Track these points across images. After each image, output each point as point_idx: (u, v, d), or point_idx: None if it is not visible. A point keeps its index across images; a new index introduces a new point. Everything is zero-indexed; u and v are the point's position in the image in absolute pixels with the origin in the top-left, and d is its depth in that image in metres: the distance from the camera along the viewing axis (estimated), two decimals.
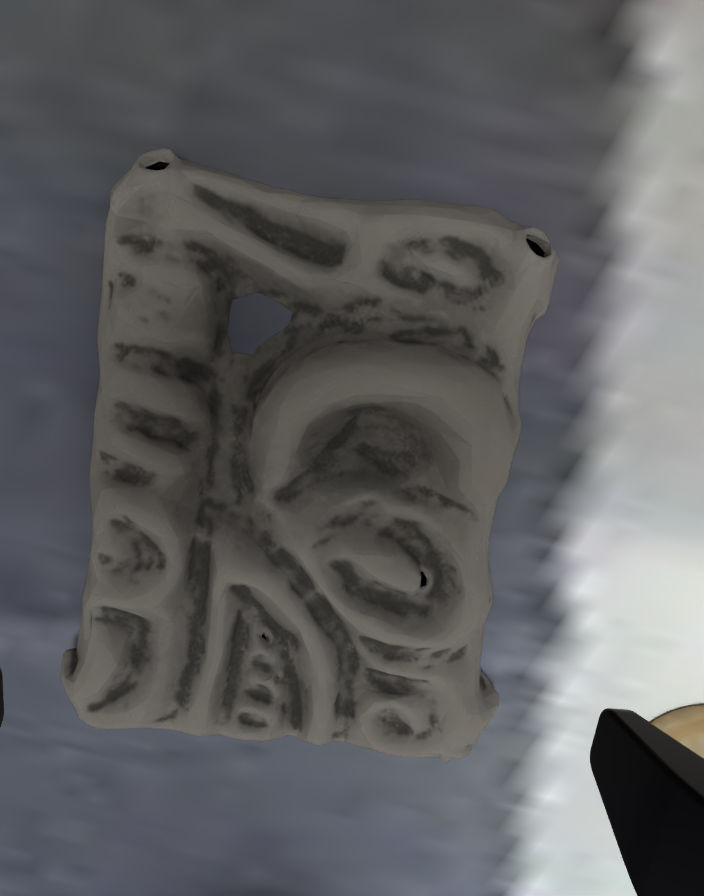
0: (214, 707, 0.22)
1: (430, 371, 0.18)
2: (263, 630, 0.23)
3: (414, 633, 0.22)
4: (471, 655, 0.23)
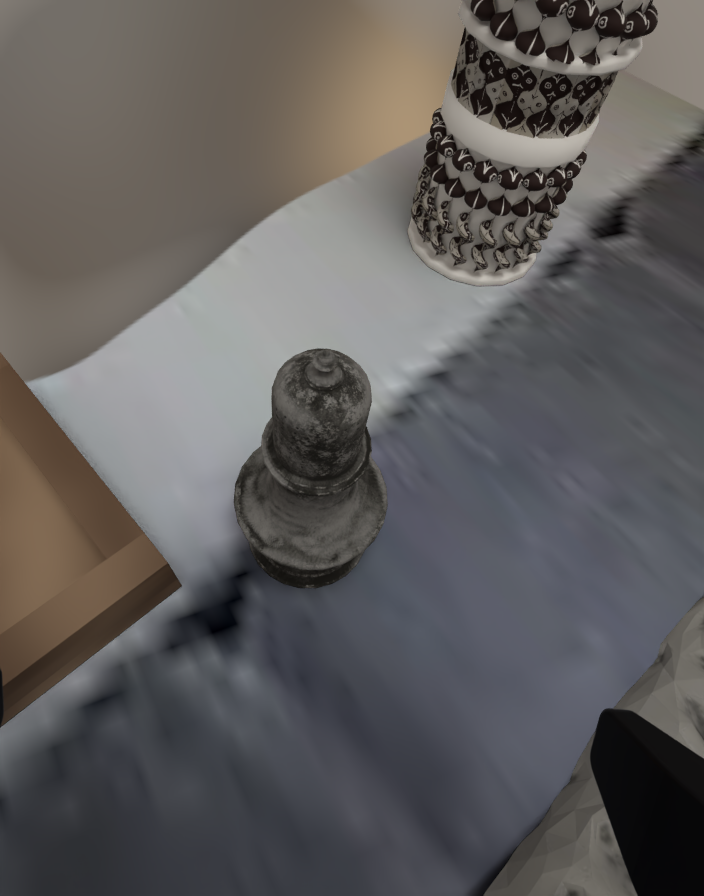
0: None
1: None
2: None
3: None
4: None
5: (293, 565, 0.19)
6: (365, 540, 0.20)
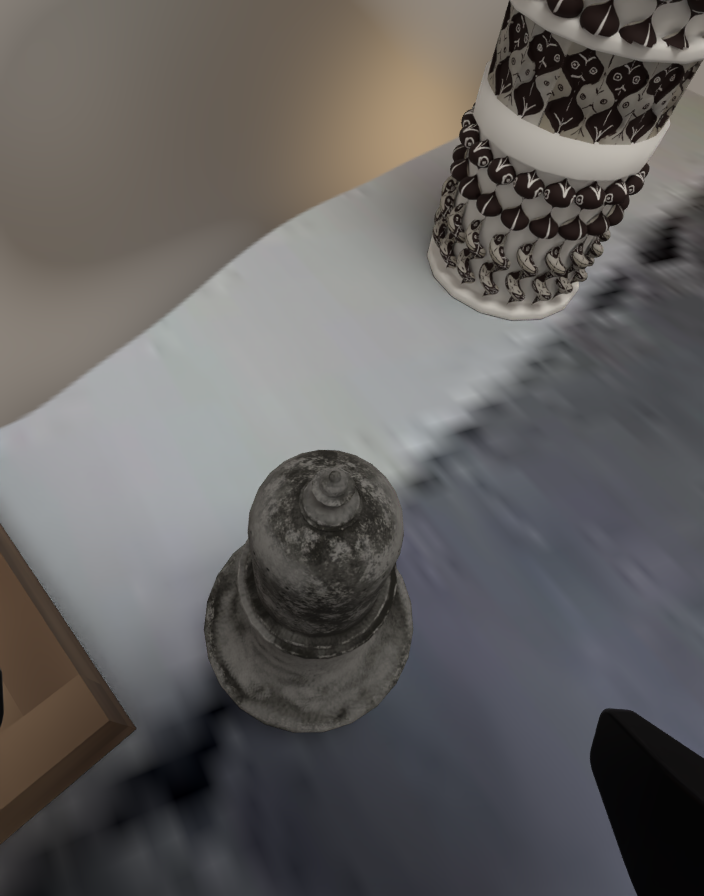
0: None
1: None
2: None
3: None
4: None
5: (284, 727, 0.14)
6: (383, 686, 0.14)
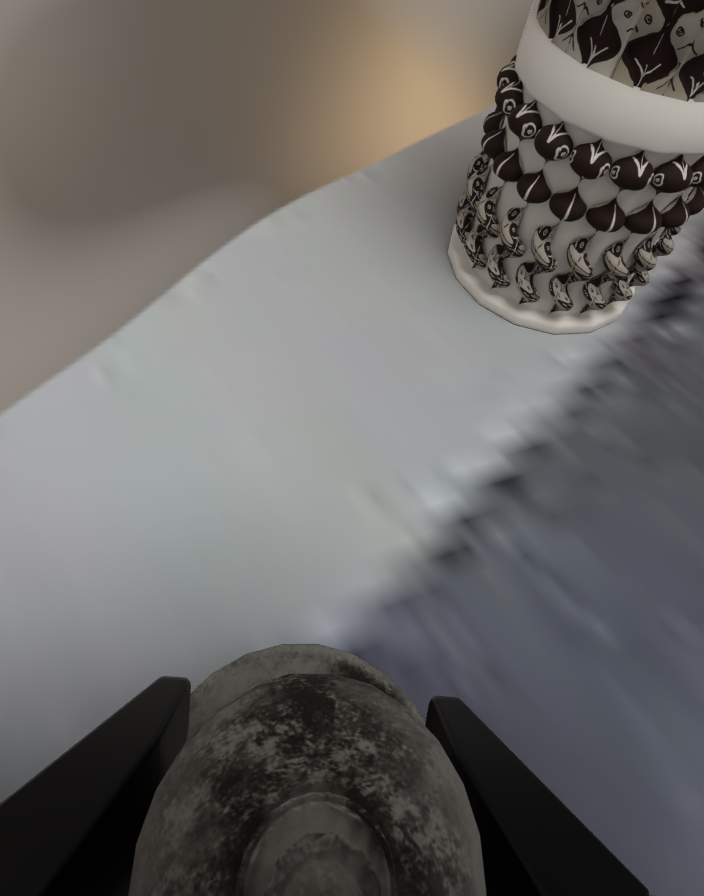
0: None
1: None
2: None
3: None
4: None
5: None
6: None
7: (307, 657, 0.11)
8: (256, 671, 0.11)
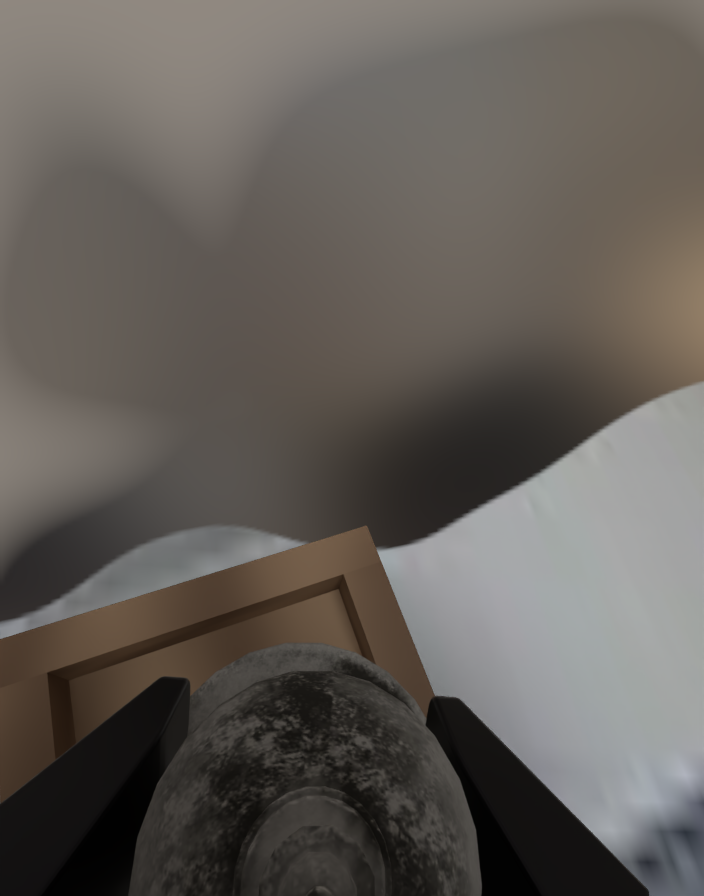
0: None
1: None
2: None
3: None
4: None
5: None
6: None
7: (310, 655, 0.11)
8: (259, 669, 0.11)
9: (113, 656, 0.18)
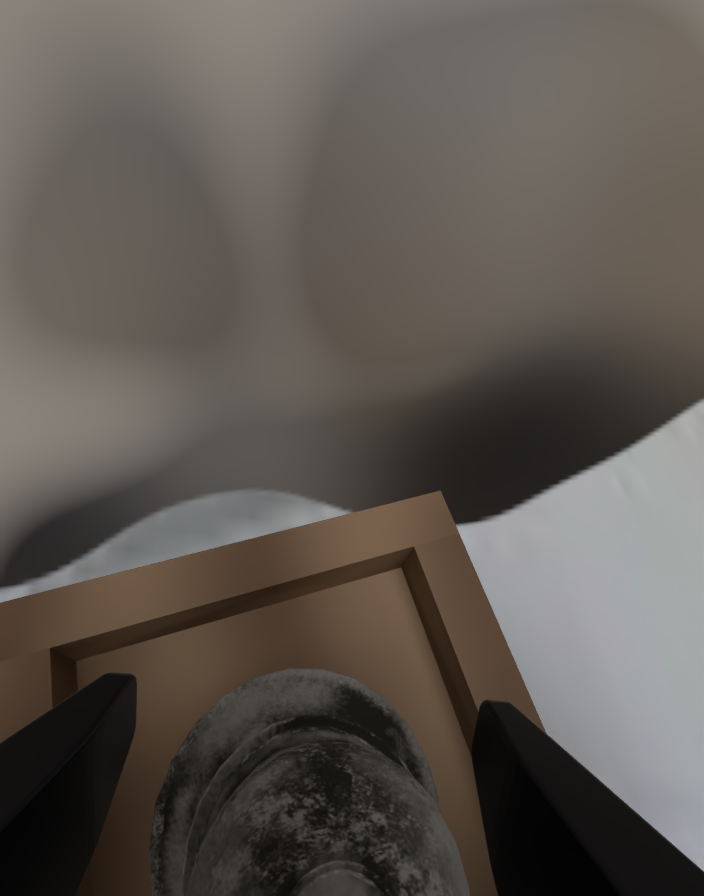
0: None
1: None
2: None
3: None
4: None
5: None
6: None
7: (312, 681, 0.12)
8: (265, 694, 0.12)
9: (131, 633, 0.15)
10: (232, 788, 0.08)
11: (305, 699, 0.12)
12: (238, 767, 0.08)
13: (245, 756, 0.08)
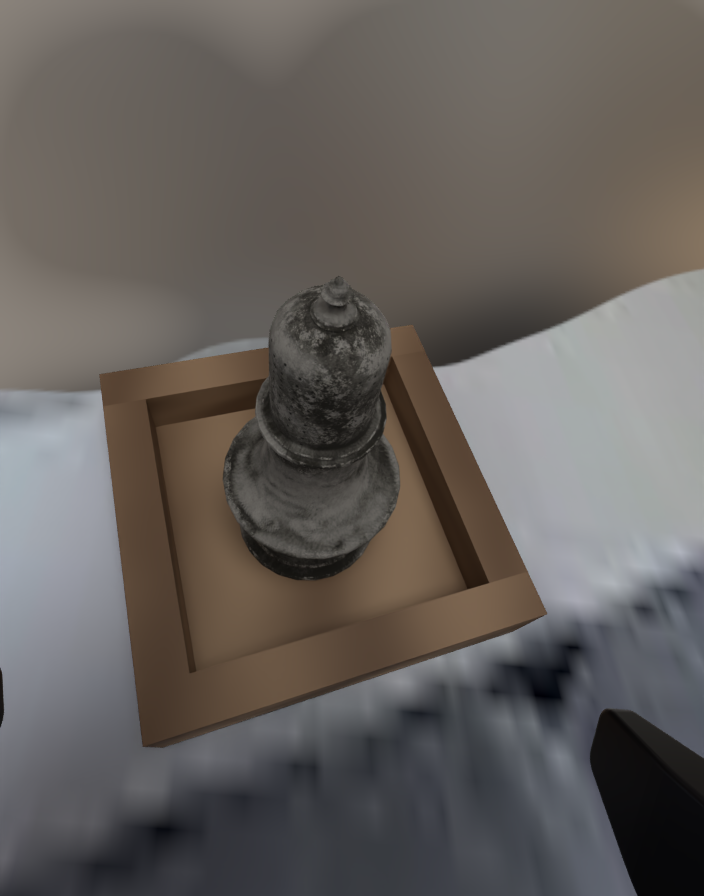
0: None
1: None
2: None
3: None
4: None
5: (290, 553, 0.16)
6: (374, 526, 0.17)
7: None
8: None
9: (196, 401, 0.21)
10: None
11: None
12: None
13: None
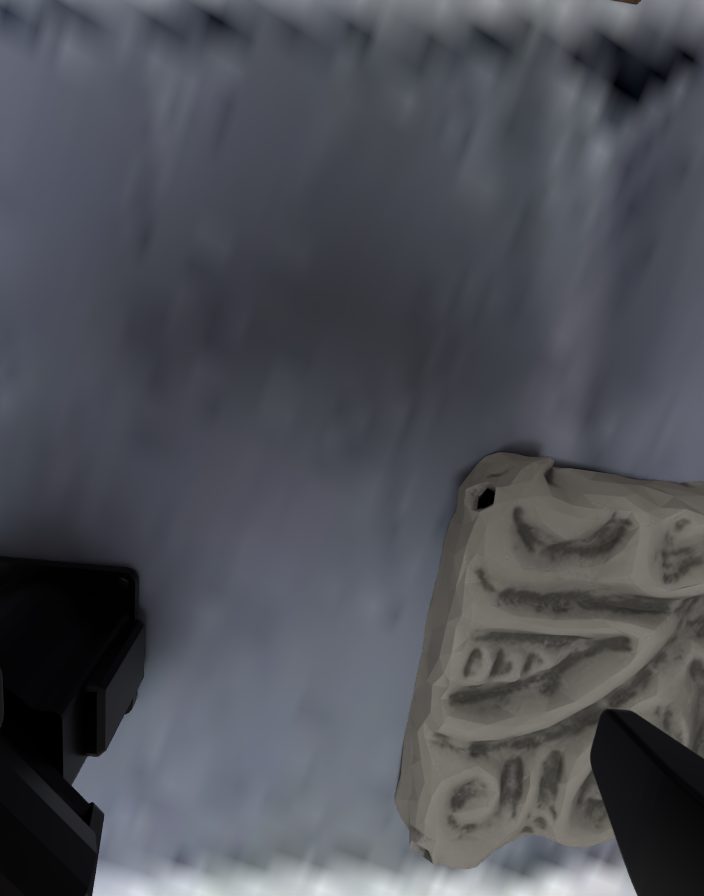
0: (497, 629, 0.20)
1: None
2: (560, 657, 0.22)
3: (571, 804, 0.22)
4: (518, 837, 0.24)
5: None
6: None
7: None
8: None
9: None
10: None
11: None
12: None
13: None
